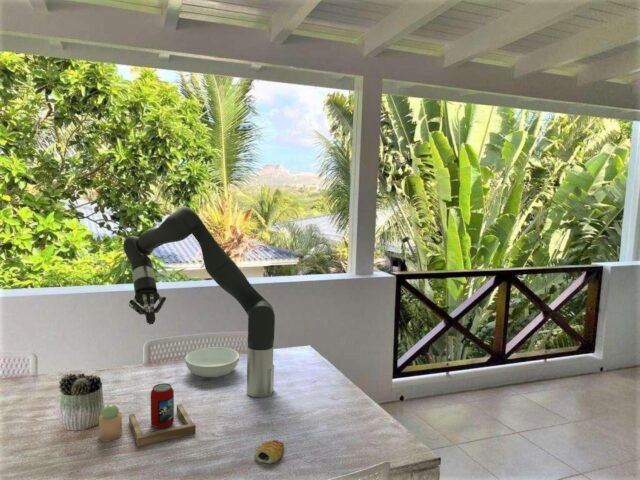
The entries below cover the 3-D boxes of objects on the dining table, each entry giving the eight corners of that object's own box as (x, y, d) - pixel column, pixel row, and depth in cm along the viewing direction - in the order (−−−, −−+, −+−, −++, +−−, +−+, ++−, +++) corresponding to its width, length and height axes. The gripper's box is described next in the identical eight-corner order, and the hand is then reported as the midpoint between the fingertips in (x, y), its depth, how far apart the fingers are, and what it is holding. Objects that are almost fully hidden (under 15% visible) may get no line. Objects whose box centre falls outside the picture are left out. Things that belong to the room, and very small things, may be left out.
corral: (128, 422, 145) (128, 414, 144) (182, 411, 153) (182, 403, 153) (137, 447, 131) (137, 438, 131) (195, 433, 140) (195, 425, 140)
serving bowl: (173, 374, 183) (173, 357, 182) (214, 359, 200) (214, 343, 199) (210, 388, 171) (210, 370, 170) (249, 371, 188) (250, 354, 187)
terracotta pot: (125, 430, 140) (125, 401, 139) (115, 441, 134) (115, 410, 133) (106, 429, 140) (105, 400, 139) (95, 440, 134) (94, 409, 133)
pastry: (269, 444, 136) (269, 431, 135) (289, 450, 133) (290, 437, 133) (252, 460, 127) (252, 447, 127) (274, 467, 125) (274, 454, 124)
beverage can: (166, 430, 140) (166, 392, 139) (146, 427, 142) (145, 390, 141) (177, 420, 147) (177, 383, 146) (158, 417, 148) (158, 381, 147)
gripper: (161, 286, 176) (169, 326, 167) (123, 288, 169) (129, 331, 160) (164, 274, 171) (172, 315, 162) (126, 277, 164) (132, 319, 155)
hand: (151, 323), depth 161 cm, fingers closed
